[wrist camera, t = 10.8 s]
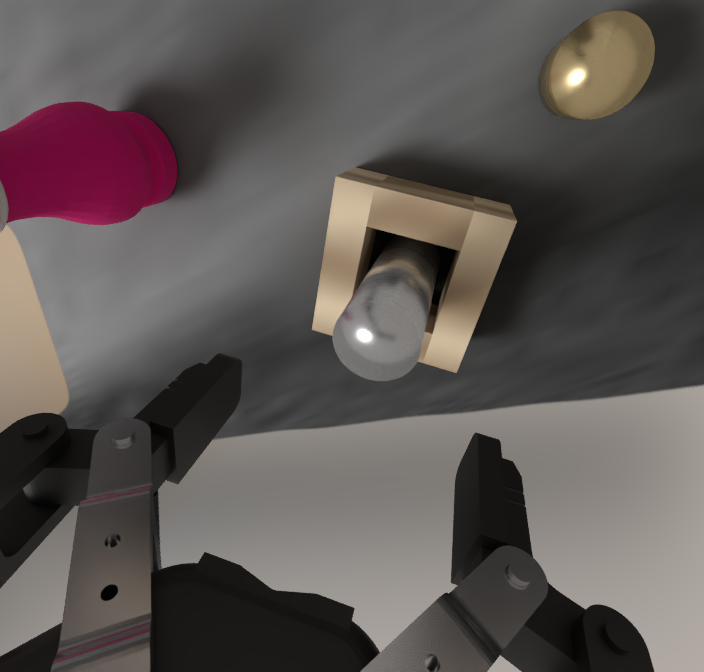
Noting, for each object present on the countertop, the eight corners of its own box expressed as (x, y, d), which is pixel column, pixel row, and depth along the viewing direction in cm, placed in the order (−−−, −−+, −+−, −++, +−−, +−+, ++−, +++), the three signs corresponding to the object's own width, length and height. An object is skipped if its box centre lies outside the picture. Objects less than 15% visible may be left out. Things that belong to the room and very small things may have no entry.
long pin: (389, 225, 27) (340, 291, 17) (447, 240, 27) (432, 317, 17) (376, 278, 29) (326, 366, 19) (430, 293, 29) (407, 391, 19)
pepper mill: (188, 123, 28) (-265, 140, 11) (181, 224, 31) (-161, 353, 14) (95, 88, 28) (-482, 48, 11) (99, 190, 32) (-326, 278, 15)
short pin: (558, 21, 20) (576, 2, 17) (640, 36, 20) (675, 20, 17) (526, 109, 22) (536, 109, 19) (600, 125, 22) (623, 128, 19)
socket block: (355, 167, 26) (335, 176, 22) (510, 204, 25) (517, 221, 21) (331, 303, 31) (312, 329, 27) (458, 340, 30) (456, 373, 26)
